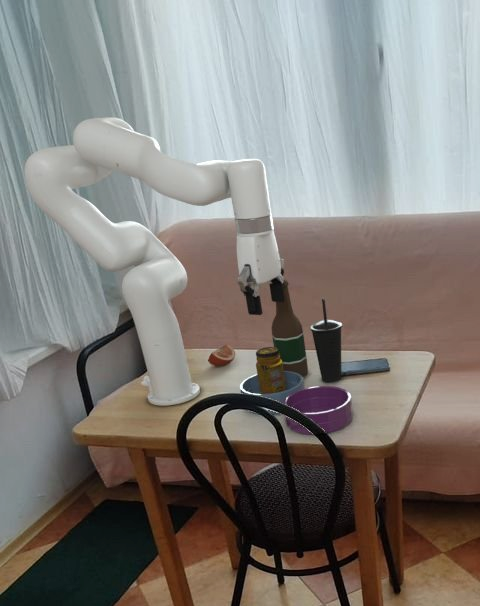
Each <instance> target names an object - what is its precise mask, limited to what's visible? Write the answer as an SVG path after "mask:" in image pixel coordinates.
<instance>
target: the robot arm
mask: <svg viewBox="0 0 480 606" xmlns="http://www.w3.org/2000/svg"><path fill="white" fill-rule="evenodd" d="M113 172H116V173H118V174H119V173H120V174H122V175H125V176H128V177H131V178H134V179H137V180H139V181H141V182H144V184H145V185H147V186H148V187H149V188H151V189H152V190H153V191H155V192H157V193H158V194H160V195H162V196H164V197H167V198H170V199H173V200H176V201H178V202H182V203H185V204H187V205H192V206H195V207H196V206H197V207H203V206H204V207H205V206H208V205H211V204H214V203H217V202H221V201H224V200H227V199H231V204H232V209H233V210H232V211H233V216H234V222H235V228H236V233H237V236H236V241H235V242H236V259H237V260H236V261H237V267H238V268H237V269H238V277H237V278H236V281H237V282H236V283H237V284H238V286H239V289H240V291H241V293H242V294H243V297H244V298H245V301H246V308H247V313H248V315H249V316H262V315H263V307H262V300H261V296H260V295H259V290H260V286H261V285H264V284H267V283H268V282H270V283H269V284H268V285H269V292H270V298H271V302H273V303H276V302H284V301H285V295H284V288H283V284H281V283H283V282H284V280H285V278H284V274H285V270H284V268H285V267H284V266H285V260H284V259H283V258H281V257H280V253H279V248H278V243H277V239H276V235H275V229H274V221H273V215H272V207H271V201H270V194H269V186H268V179H267V173H266V166H265V164H264V162H263V161H262V160H261V159H258V158H246V159H237V160H234V161H232V160H221V159H214V160H208V161H202V162H198V163H191V162H188V161H185V160H181V159H179V158H176V157H174V156H170V155H168V154H166V153H164V152H163V151H162V150H161V147H160V145H159V142H158V141H157V140H156V139H155V138H154V137H152V136H149V135H147V134H143V133H140V132H137V131H135V130H134V128H133V127H132V126H131V125H130V124H129V123H128V122H127V121H125V120H123V119H121V118H118V117H114V116H113V117H112V116H111V117H110V116H109V117H92V118H88V119H84V120H82V121H80V122H79V123H78V124H77V125H76V126H75V128H74V129H73V133H72V144H68V145H59V146H50V147H44V148H42V149H39V150H36V151H34V152H33V153H31V154H30V156H29V157H28V158H27V160H26V161H25V165H24V180H25V185H26V188H27V190H28V193H29V195H30V196H31V198H32V200H33V201H34V203H35V204H36V206H38V208H39V209H40V210H41V211H42V212H43V213H44V214H45V215H46V216H47V217H48V218H49V219H51V221H53V222H54V223H56V224H57V225H58V226H59V227H60V228H61V229H63V230H64V231H65V233H67V234H68V235H69V236H70V238H71V239H72V240H73V241H74V242H75V243H76V244H77V245H78V246H79V247H81V249H82V250H83V251H84V252H85V253H86V254H87V255H88V256H89V257H90V258H91V259H92V260H93V261H95V263H96V264H98V266H100V268H103V270H105V271H108V272H111V273H116V272H119V271H123V270H126V269H128V268H130V267H133V266H134V267H133V268H131V269H129V271H128V272H127V273H126V274H125V275H124V277H123V279H122V281H121V291H122V295H123V298H124V301H125V303H126V305H127V307H128V309H129V312H130V314H131V316H132V319H133V323H134V327H135V329H136V333H137V337H138V340H139V343H140V347H141V351H142V355H143V359H144V364H145V366H146V367H145V368H146V370H147V374H148V375H145V376H144V377H143V380H142V381H141V382H140V386H141V387H142V388H148V390H149V392H148V393H147V395H146V398H147V401H148V402H149V403H150V404H151V405H154V406H158V407H159V406H160V407H163V406H164V407H165V406H166V407H167V406H175V405H180V404H183V403H187V402H189V401H192V400H193V399H195V398H197V397H198V396H199V394H200V393H201V388H200V385H199V384H198V383H196V382H194V381H193V382H192V377H191V373H190V368H189V363H188V359H187V355H186V350H185V345H184V341H183V337H182V333H181V328H180V325H179V321H178V318H177V316H176V314H175V312H174V311H173V309H172V307H171V305H170V303H169V302H170V301H171V300H172V299H174V298H176V297H178V296H179V295H181V294H182V293H183V292H184V291H185V290H186V288H187V285H188V279H189V278H188V273H187V270H186V268H185V267H184V265H183V264H182V263H181V261H180V260H179V259H178V258H177V257H176V256H175V254H173V253H172V252H171V250H169V249H168V248H167V246H166V245H165V244H164V243H163V242H162V241H161V240H160V239H159V238H158V237H157V236H156V235H155V234H154V233H153V232H152V231H151V230H150V229H148V228H147V227H146V226H145V225H143V224H141V223H139V222H137V221H133V220H124V221H120V222H116V223H115V222H112V221H111V220H110V219H108V217H106V216H105V215H104V214H103V213H102V212H101V210H100V209H98V208H97V207H96V206H95V204H93V203H92V202H90V201H89V200H87V199H86V198H84V197H82V196H81V195H79V194H77V193H76V192H74V191H73V190H75V189H81V188H85V187H90V186H92V185H95V184H97V183H98V182H100V181H102V180H103V179H104V178H106V177H108V176H109V175H111V174H113ZM252 287H253V288H252Z"/></svg>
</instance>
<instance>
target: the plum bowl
mask: <svg viewBox="0 0 480 606" xmlns="http://www.w3.org/2000/svg"><path fill="white" fill-rule="evenodd" d="M352 400H353V399H352V395H351V393H350V392H349V390H346V388H342V387H338V386H332V385H318V386H309V387H304V389H302V390H298V391H296V392H294V393H292V394H290V395H289V396H287V397H286V398H285V400H284V402H283V404H285V405H288V406H290V407H293V408H295V409H297V410H299V411H300V412H301V413H302V414H304V415H306V416H307V417H308V418H310V419H312V420H313V421H314V422H315V423H316V424H318V425H319V426H320V427H321V428H323V429H324V430H325V432H326V433H327V434H330V433H335V432H337V431H340V430H341V429H344V428H346V427H347V426H348V425H349V424H350V423H351V422H352V421H353V417H354V411H353V401H352ZM284 418H285V424H286V427H287V428H288V429H289V430H291V431H293V432H294V433H297V434H300V435H307V436H315V435H314V434H312V433H311V432H309V431H308V430H307V429H306V428H305V427H303V426H302V425H300V424H299V423H297V422H295V421H294V420H292V419H290V418H288V417H286V416H285V415H284Z"/></svg>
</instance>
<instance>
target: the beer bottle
mask: <svg viewBox="0 0 480 606" xmlns="http://www.w3.org/2000/svg"><path fill="white" fill-rule="evenodd" d="M281 284H283V288H284V295H285V301H284V302H275V316H274V318H273V320H272V322H271V323H272V324H271V337H272V344H273V347H275V348H278V350H279V354H280V359H281V360H282V362H283V370H284V371H292V372H295V373H298V374H300V375H301V376H302V378H303V379H304V378H305V377H306V376H307V375H308V374H309V367H308V366H309V365H308V359H307V358H308V357H307V351H306V343H305V337H304V335H305V334H304V329H303V325H302V323H301V321H300V319H299V318H298V316H296V314H295V313H294V310H293V307H292V303H291V302H292V301H291V296H290V292H289V287H288V286H289V282H288V280H287V279H284V282H283V283H281Z"/></svg>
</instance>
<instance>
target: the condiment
mask: <svg viewBox="0 0 480 606" xmlns="http://www.w3.org/2000/svg"><path fill="white" fill-rule="evenodd" d="M255 356H256V363H255V368H256V374H257V375H258V381H259V387H260V393H261V394H272V393H278V392H282V391H285V390H286V384H285V377H284V370H283V362H282V360H281V359H280V354H279V350H278V348H275V347H274V346H266V347H261V348H259V349H257V350H256V351H255Z"/></svg>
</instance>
